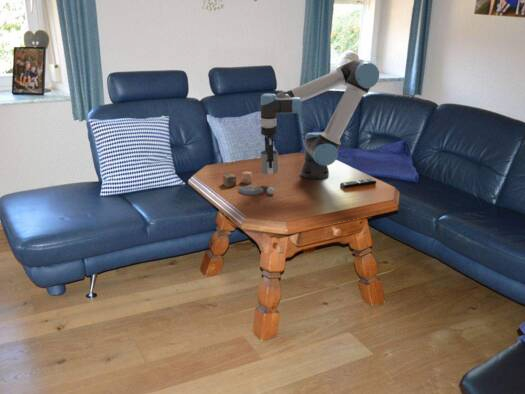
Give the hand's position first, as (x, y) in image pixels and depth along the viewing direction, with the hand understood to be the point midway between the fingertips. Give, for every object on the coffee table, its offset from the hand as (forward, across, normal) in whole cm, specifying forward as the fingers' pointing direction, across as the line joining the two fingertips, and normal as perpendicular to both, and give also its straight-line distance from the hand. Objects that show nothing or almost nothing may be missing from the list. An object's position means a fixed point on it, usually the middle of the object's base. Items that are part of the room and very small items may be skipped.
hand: (269, 171), depth 256 cm
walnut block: (+7, -1, -20) cm, 21 cm away
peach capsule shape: (+7, -5, -11) cm, 14 cm away
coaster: (+7, +9, -10) cm, 15 cm away
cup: (+1, 0, 0) cm, 1 cm away
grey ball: (+7, +14, -1) cm, 16 cm away
